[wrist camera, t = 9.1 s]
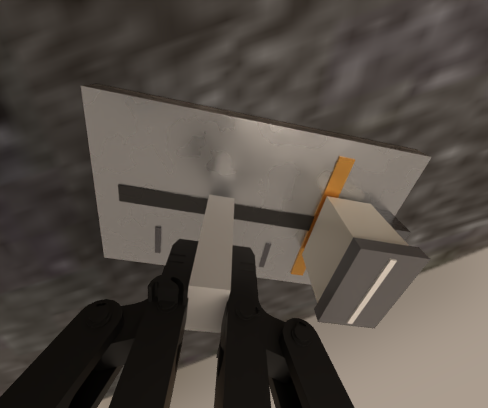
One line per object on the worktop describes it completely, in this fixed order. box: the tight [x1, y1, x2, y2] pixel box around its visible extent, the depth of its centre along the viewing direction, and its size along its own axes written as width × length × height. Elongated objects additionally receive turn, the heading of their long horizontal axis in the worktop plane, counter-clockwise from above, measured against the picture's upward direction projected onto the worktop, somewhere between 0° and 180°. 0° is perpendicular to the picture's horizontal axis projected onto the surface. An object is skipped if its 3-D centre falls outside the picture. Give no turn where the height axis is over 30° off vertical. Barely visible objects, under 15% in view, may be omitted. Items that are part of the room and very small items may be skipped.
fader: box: [302, 196, 430, 328], centre depth 14 cm, size 5×3×5 cm, turn 169°
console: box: [81, 84, 431, 284], centre depth 16 cm, size 12×20×4 cm, turn 79°
